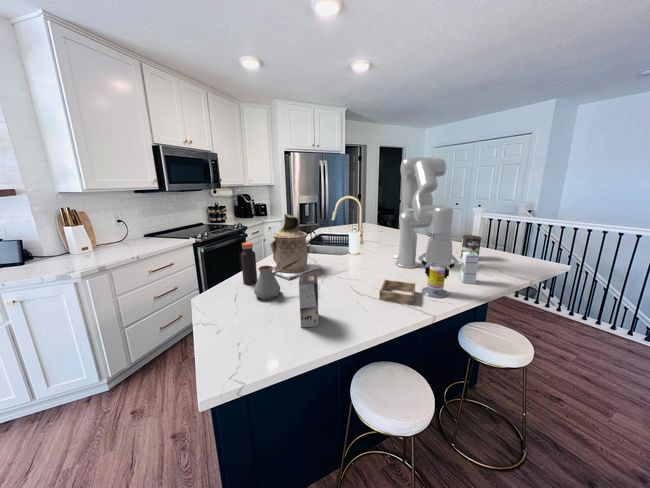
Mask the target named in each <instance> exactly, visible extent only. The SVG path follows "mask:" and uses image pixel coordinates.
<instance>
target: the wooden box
mask: <svg viewBox="0 0 650 488" xmlns="http://www.w3.org/2000/svg"><path fill="white" fill-rule="evenodd" d="M382 283H383V284H382V285H381V288H380V289H379V297H378V300H379V301H386V302H391V303H395V304H396V303H398V304H403V305H404V304H405V305H409V306H413V305H414V301H415V300H414V299H415V295H416V294H415V293H416V283H414V282H405V281H398V280H392V279H390V280H389V279H384V281H383V282H382ZM387 289H389V290H394V291H395V290H396V291H401V292H408V293H409V292H410V293H411V294H407V293H401V292H394V291H389V290H388V291H387Z"/></svg>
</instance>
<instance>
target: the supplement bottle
mask: <svg viewBox="0 0 650 488" xmlns="http://www.w3.org/2000/svg"><path fill="white" fill-rule="evenodd" d="M445 271H446V265H445V264H435V263H430V265H429V275H428V277H427V286H426V287H429V288H431V289H434V290H441V289H444V286H445Z"/></svg>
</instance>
